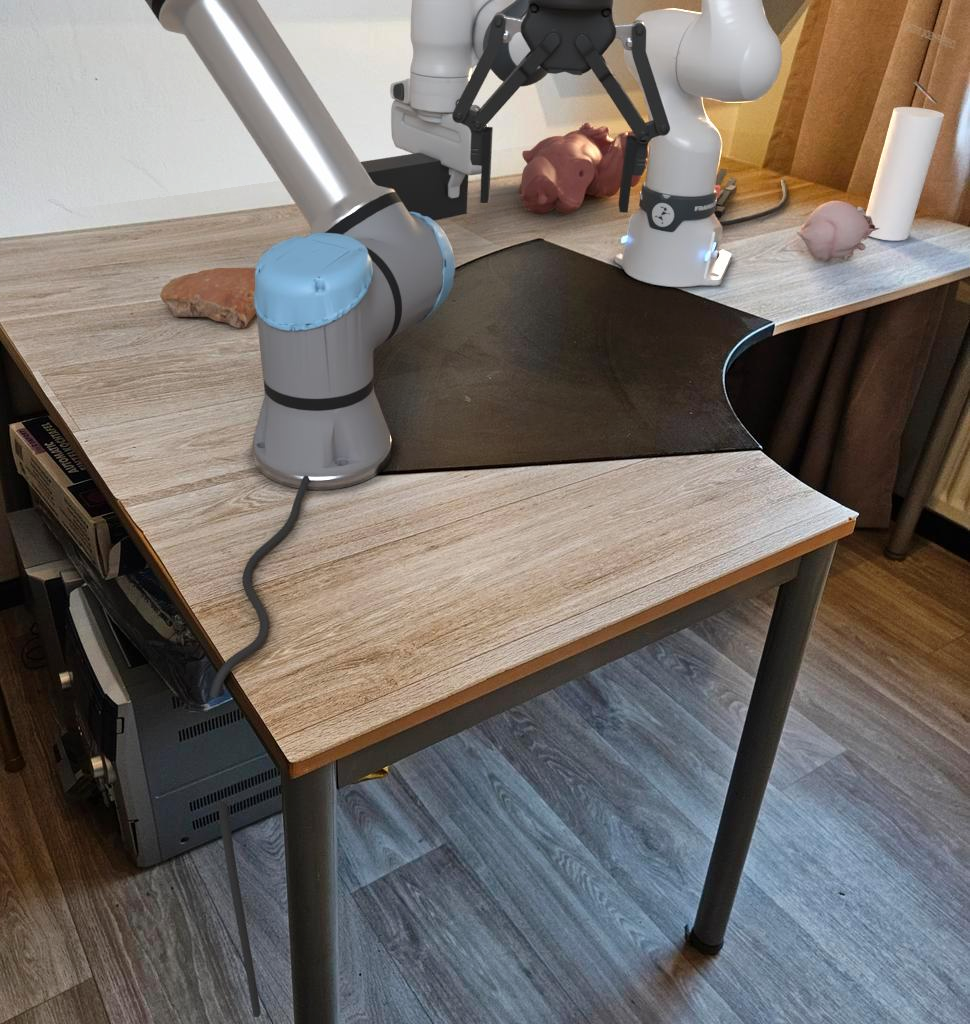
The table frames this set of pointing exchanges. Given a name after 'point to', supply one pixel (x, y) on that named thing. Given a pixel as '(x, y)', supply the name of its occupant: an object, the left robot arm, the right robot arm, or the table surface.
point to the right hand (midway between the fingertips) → (438, 191)
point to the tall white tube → (903, 167)
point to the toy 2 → (836, 230)
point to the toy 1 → (724, 192)
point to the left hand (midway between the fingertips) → (553, 204)
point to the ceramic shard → (213, 295)
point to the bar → (419, 184)
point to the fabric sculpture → (573, 169)
